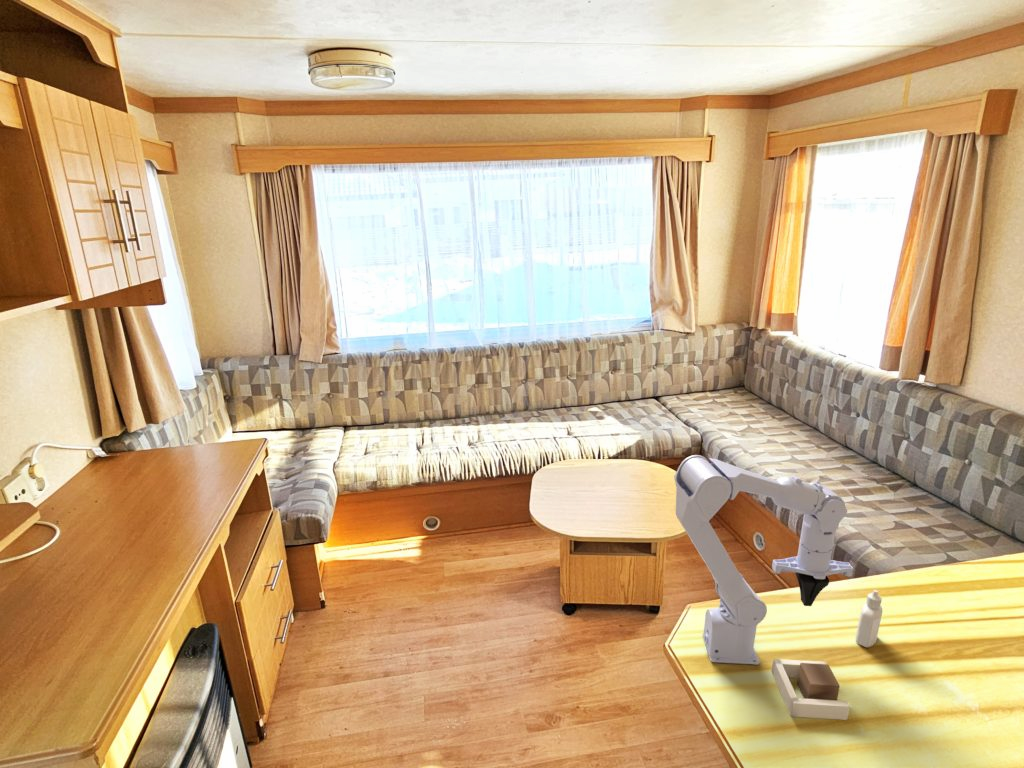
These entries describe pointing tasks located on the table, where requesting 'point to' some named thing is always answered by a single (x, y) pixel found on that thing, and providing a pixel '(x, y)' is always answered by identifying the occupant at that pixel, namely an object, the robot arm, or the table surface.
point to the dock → (801, 705)
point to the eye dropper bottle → (869, 620)
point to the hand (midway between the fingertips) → (806, 602)
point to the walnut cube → (817, 682)
